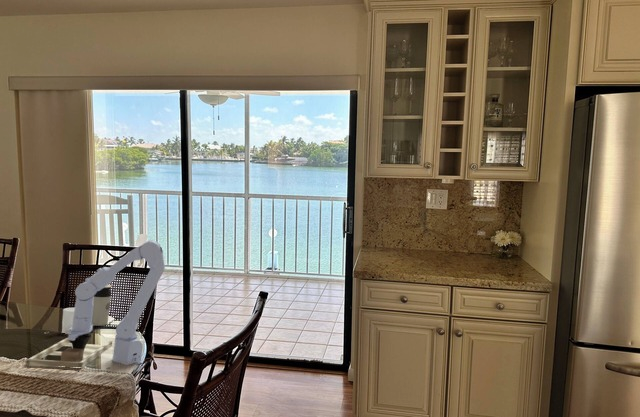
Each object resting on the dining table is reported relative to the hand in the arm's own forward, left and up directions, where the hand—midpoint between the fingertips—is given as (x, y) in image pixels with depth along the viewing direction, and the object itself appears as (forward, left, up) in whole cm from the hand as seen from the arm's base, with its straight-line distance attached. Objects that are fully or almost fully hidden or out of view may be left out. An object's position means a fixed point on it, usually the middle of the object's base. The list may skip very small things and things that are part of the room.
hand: (78, 356), depth 150 cm
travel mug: (+42, -36, -2) cm, 55 cm away
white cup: (+35, -19, -2) cm, 39 cm away
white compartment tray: (+5, -1, -2) cm, 6 cm away
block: (-2, +3, -1) cm, 4 cm away
